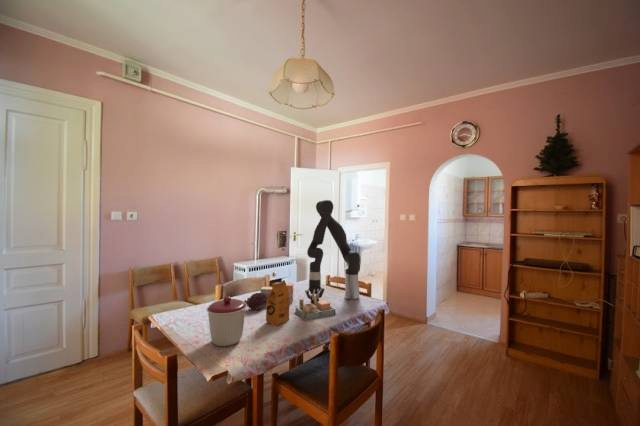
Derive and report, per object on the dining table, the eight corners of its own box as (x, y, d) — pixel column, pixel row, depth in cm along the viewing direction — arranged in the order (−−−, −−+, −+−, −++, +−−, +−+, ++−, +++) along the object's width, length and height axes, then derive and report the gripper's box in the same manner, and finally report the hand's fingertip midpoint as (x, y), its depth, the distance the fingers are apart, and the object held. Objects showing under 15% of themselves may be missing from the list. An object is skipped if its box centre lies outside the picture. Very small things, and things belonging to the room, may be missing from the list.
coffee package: (263, 322, 151) (263, 282, 151) (278, 315, 162) (279, 278, 161) (276, 327, 146) (276, 285, 145) (291, 319, 156) (292, 281, 156)
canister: (252, 343, 127) (253, 298, 127) (211, 355, 117) (212, 305, 117) (239, 329, 142) (239, 289, 142) (202, 338, 132) (202, 294, 131)
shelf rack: (324, 306, 178) (324, 302, 178) (335, 314, 165) (335, 309, 165) (295, 311, 168) (295, 306, 168) (305, 319, 156) (305, 314, 156)
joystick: (317, 304, 181) (318, 295, 181) (330, 312, 167) (330, 303, 167) (309, 306, 178) (309, 296, 178) (321, 314, 164) (321, 304, 164)
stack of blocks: (260, 302, 184) (260, 284, 184) (262, 299, 190) (262, 282, 190) (292, 303, 183) (292, 285, 183) (293, 300, 189) (293, 282, 189)
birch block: (304, 307, 175) (305, 298, 175) (316, 316, 161) (316, 306, 161) (296, 309, 173) (296, 299, 172) (307, 318, 158) (307, 308, 158)
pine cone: (265, 303, 182) (265, 288, 182) (273, 307, 175) (274, 292, 175) (240, 309, 170) (240, 293, 170) (248, 314, 163) (248, 297, 163)
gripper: (321, 275, 185) (321, 301, 185) (302, 278, 179) (302, 304, 179) (327, 278, 179) (326, 304, 179) (307, 280, 172) (307, 308, 172)
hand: (314, 304), depth 179 cm, fingers closed on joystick, 2 cm apart
